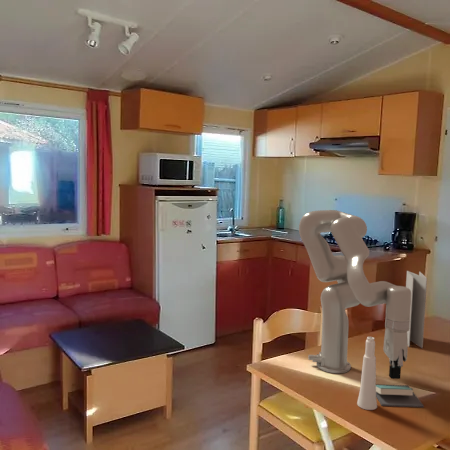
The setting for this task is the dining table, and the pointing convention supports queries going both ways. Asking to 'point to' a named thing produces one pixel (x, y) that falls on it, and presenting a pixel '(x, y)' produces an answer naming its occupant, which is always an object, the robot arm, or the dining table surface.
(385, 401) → the mat
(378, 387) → the tile
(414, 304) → the brochure
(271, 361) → the dining table surface
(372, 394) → the cosmetic bottle
